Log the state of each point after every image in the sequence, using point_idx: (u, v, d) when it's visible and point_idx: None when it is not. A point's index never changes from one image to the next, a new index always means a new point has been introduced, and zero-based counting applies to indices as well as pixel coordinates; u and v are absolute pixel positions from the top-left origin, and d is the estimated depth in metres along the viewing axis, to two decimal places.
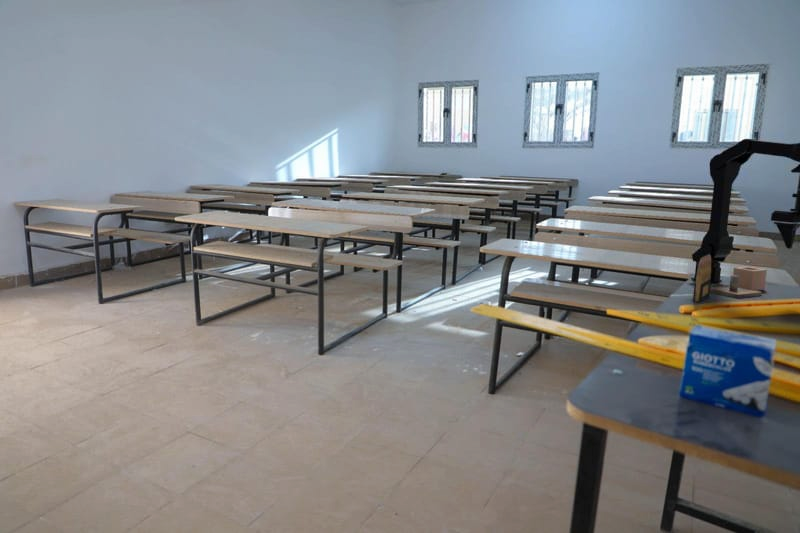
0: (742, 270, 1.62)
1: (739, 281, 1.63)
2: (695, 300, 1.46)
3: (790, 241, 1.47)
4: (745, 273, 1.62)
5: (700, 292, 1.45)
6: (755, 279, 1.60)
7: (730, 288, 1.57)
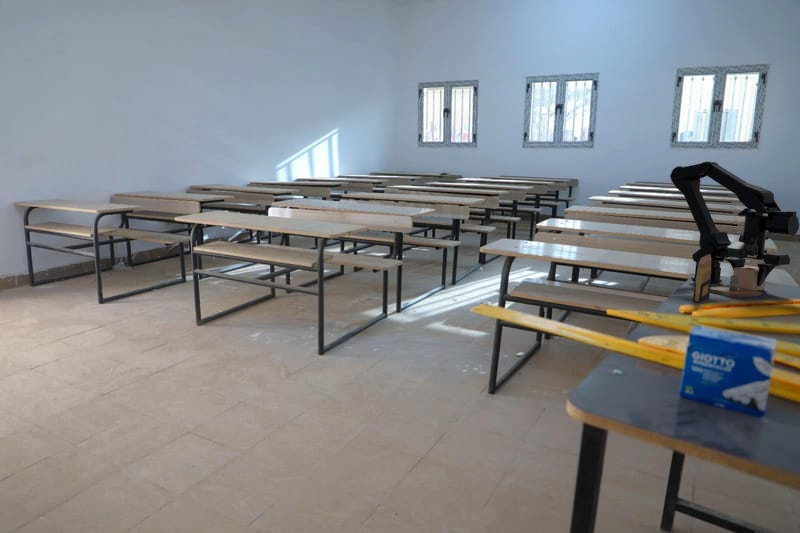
0: (742, 270, 1.62)
1: (739, 281, 1.63)
2: (695, 300, 1.46)
3: None
4: (745, 273, 1.62)
5: (700, 292, 1.45)
6: (755, 279, 1.60)
7: (730, 288, 1.57)
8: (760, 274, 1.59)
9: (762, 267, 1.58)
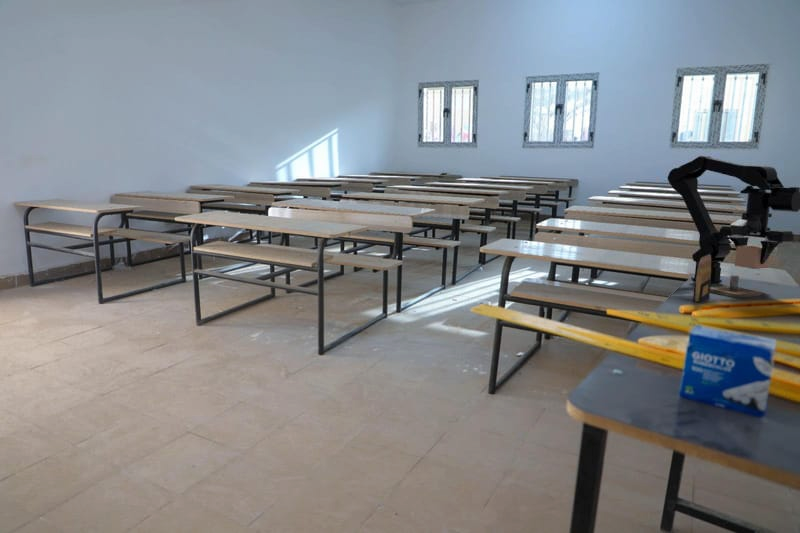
0: (745, 248, 1.61)
1: (742, 259, 1.62)
2: (695, 300, 1.46)
3: None
4: (748, 251, 1.60)
5: (700, 292, 1.45)
6: (758, 257, 1.59)
7: (730, 288, 1.57)
8: (763, 251, 1.58)
9: (766, 244, 1.56)
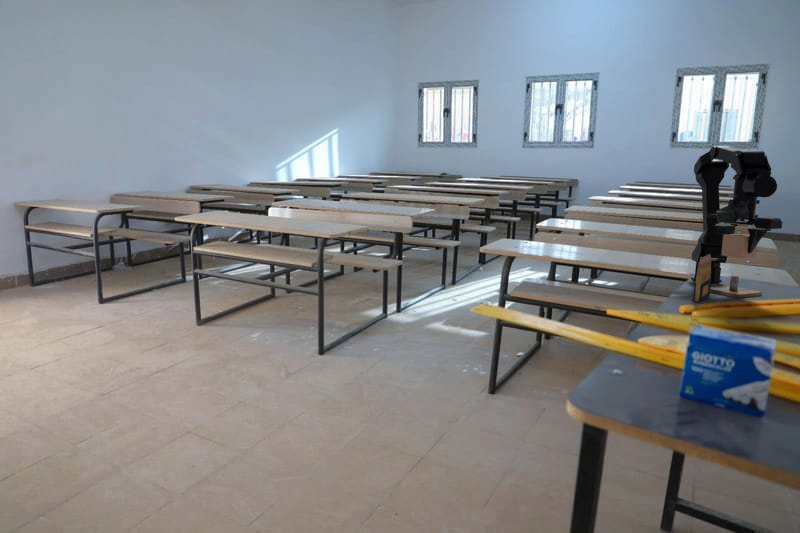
0: (732, 236, 1.54)
1: (729, 248, 1.55)
2: (695, 300, 1.46)
3: None
4: (735, 239, 1.53)
5: (700, 292, 1.45)
6: (746, 245, 1.52)
7: (730, 288, 1.57)
8: (751, 240, 1.51)
9: (753, 232, 1.49)
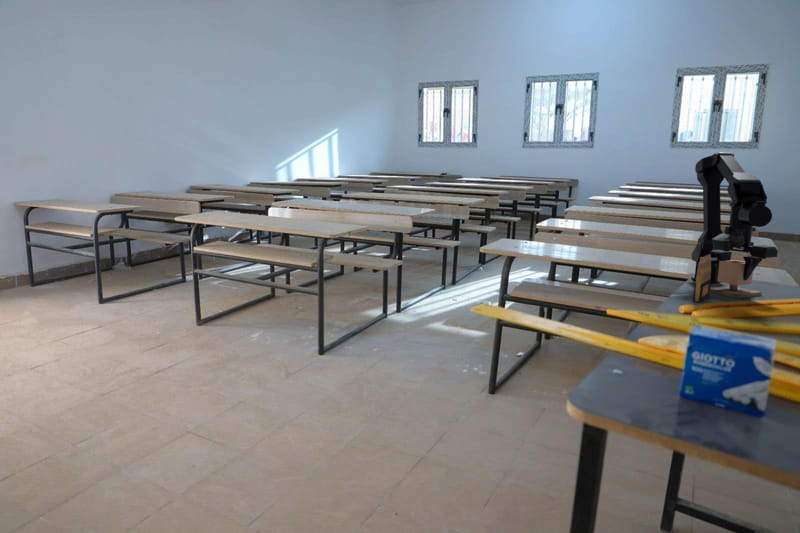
0: (728, 263, 1.55)
1: (725, 275, 1.56)
2: (695, 300, 1.46)
3: None
4: (731, 266, 1.54)
5: (700, 292, 1.45)
6: (742, 273, 1.53)
7: (730, 288, 1.57)
8: (746, 267, 1.52)
9: (749, 260, 1.50)
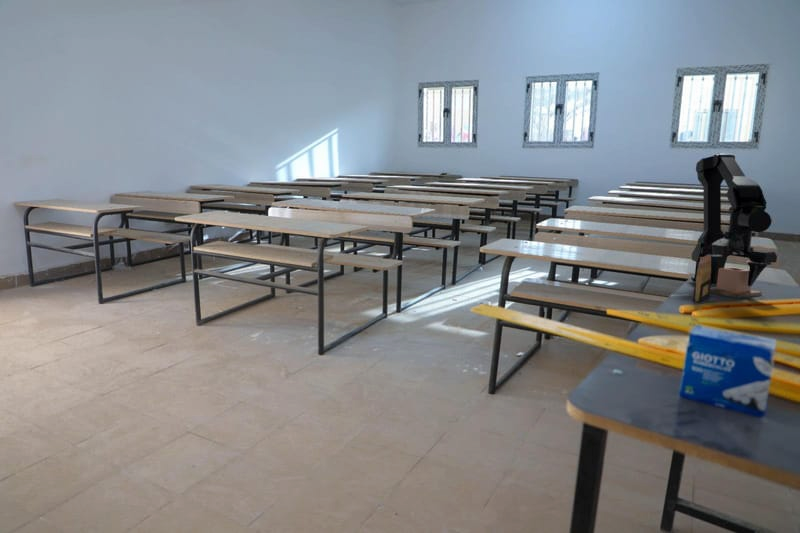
0: (727, 271, 1.55)
1: (724, 282, 1.56)
2: (695, 300, 1.46)
3: None
4: (730, 274, 1.54)
5: (700, 292, 1.45)
6: (741, 280, 1.53)
7: None
8: (751, 273, 1.51)
9: (753, 266, 1.49)
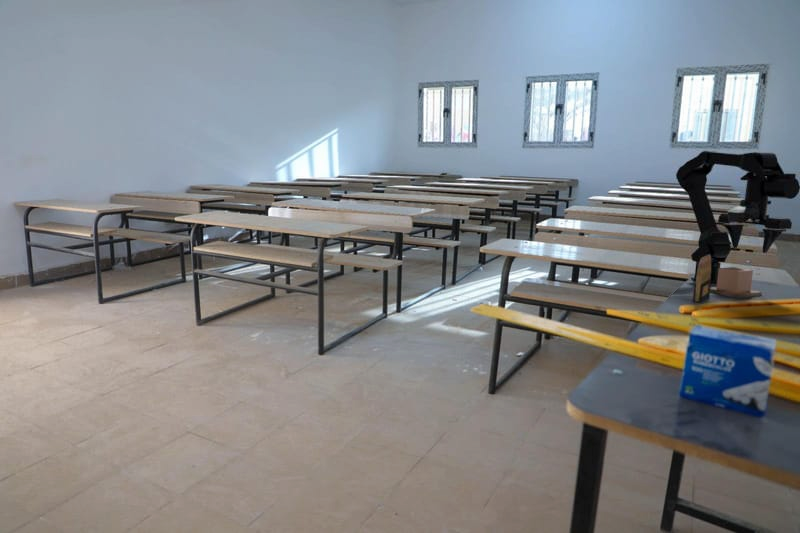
0: (727, 271, 1.55)
1: (724, 282, 1.56)
2: (695, 300, 1.46)
3: None
4: (730, 274, 1.54)
5: (700, 292, 1.45)
6: (741, 280, 1.53)
7: None
8: (766, 240, 1.54)
9: (768, 232, 1.53)
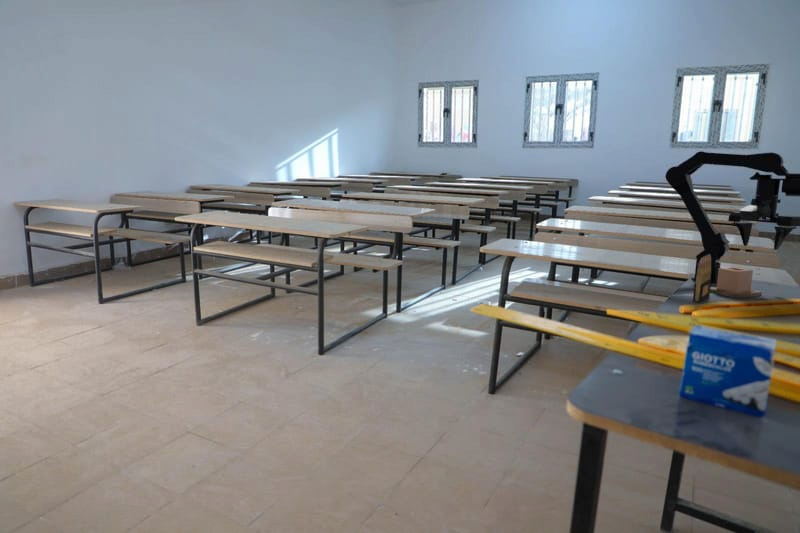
0: (727, 271, 1.55)
1: (724, 282, 1.56)
2: (695, 300, 1.46)
3: None
4: (730, 274, 1.54)
5: (700, 292, 1.45)
6: (741, 280, 1.53)
7: None
8: (777, 237, 1.59)
9: (780, 230, 1.57)
